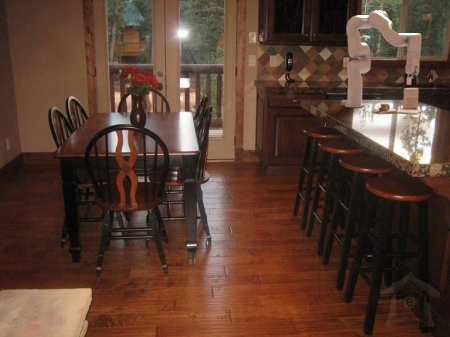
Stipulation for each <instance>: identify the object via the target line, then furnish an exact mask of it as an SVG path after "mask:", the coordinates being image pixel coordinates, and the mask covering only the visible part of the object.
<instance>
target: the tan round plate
mask: <svg viewBox="0 0 450 337" xmlns="http://www.w3.org/2000/svg"><path fill="white" fill-rule="evenodd" d="M390 107H391V106H390V104H389V103H380V107H378V108H375V109H371V113H373V114H378V113H379V115H380V114H381V115H384V114H385V115H387V114H390V115H391V114H397V111H398V110H397V109H393V108H390Z"/></svg>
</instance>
